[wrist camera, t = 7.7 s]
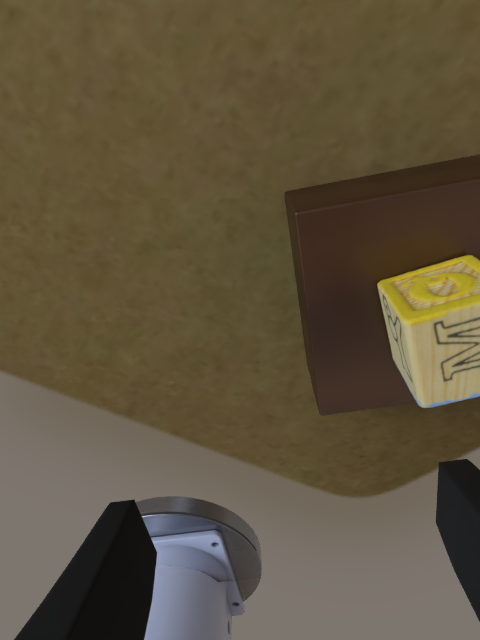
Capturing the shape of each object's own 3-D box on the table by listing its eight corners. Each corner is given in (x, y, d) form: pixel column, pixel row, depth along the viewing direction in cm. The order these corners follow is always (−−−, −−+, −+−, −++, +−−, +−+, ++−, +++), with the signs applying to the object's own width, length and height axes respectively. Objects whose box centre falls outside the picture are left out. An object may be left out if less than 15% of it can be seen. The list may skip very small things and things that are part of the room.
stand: (486, 339, 18) (536, 386, 15) (307, 366, 19) (320, 417, 16) (505, 149, 15) (575, 160, 12) (283, 191, 16) (294, 212, 12)
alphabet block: (389, 357, 15) (421, 413, 12) (372, 280, 13) (404, 324, 11) (478, 333, 14) (533, 386, 12) (470, 250, 13) (530, 288, 10)
